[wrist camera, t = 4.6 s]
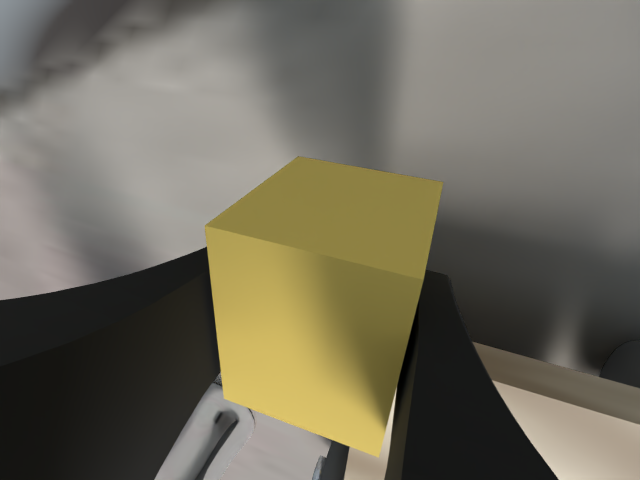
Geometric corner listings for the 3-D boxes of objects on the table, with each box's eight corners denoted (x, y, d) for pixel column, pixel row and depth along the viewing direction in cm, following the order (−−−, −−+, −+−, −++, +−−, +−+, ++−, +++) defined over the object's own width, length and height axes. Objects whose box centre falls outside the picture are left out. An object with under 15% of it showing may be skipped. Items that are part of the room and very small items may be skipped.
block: (408, 326, 12) (379, 457, 8) (293, 294, 13) (223, 398, 10) (443, 181, 10) (423, 280, 6) (298, 156, 11) (204, 225, 7)
